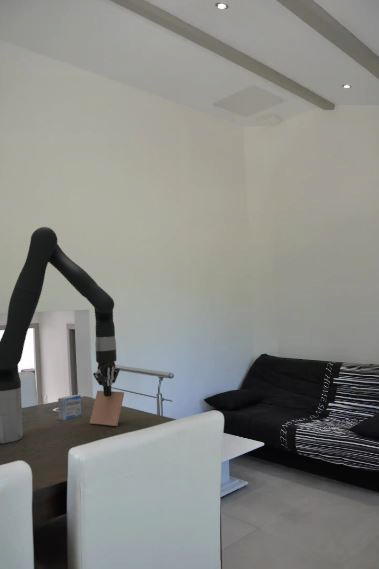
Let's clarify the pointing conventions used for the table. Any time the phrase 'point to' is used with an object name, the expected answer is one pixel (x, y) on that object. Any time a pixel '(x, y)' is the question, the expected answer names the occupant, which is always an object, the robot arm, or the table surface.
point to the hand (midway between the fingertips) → (107, 396)
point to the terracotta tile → (107, 408)
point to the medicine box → (69, 407)
